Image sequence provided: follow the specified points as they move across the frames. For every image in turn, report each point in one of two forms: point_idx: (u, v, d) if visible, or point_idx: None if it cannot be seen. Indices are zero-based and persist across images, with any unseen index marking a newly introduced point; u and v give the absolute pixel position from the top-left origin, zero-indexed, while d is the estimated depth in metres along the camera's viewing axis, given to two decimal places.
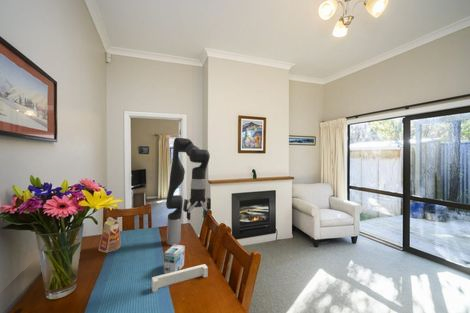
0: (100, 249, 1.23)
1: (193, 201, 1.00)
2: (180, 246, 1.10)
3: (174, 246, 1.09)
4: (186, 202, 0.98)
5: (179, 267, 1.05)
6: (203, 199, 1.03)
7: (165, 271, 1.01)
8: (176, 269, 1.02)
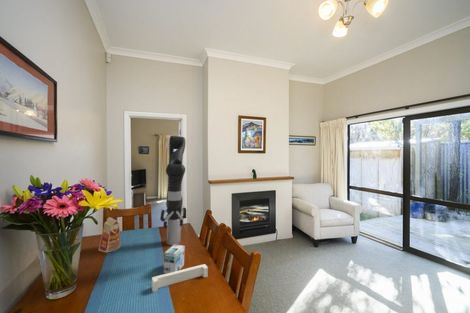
0: (100, 249, 1.23)
1: (169, 211, 1.11)
2: (180, 246, 1.10)
3: (174, 246, 1.09)
4: (163, 212, 1.09)
5: (179, 267, 1.05)
6: (179, 209, 1.14)
7: (165, 271, 1.01)
8: (176, 269, 1.02)
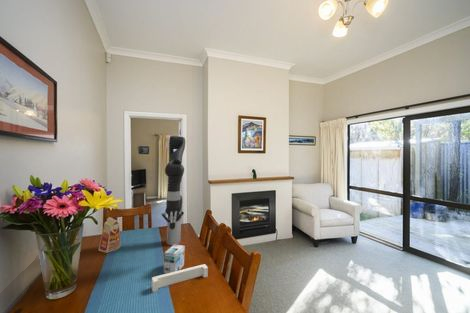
0: (100, 249, 1.23)
1: (168, 213, 1.11)
2: (180, 246, 1.10)
3: (174, 246, 1.09)
4: (163, 216, 1.10)
5: (179, 267, 1.05)
6: (178, 209, 1.14)
7: (165, 271, 1.01)
8: (176, 269, 1.02)
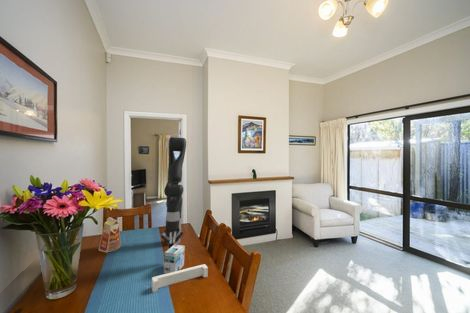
0: (100, 249, 1.23)
1: (168, 234, 1.11)
2: (180, 246, 1.10)
3: (174, 246, 1.09)
4: (163, 237, 1.09)
5: (179, 267, 1.05)
6: (178, 229, 1.14)
7: (165, 271, 1.01)
8: (176, 269, 1.02)
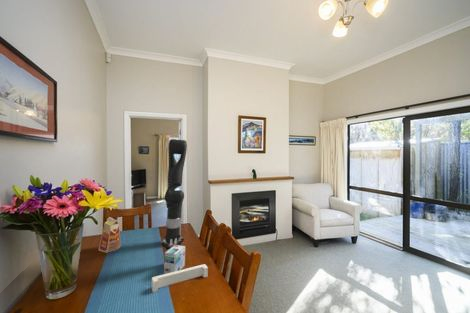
0: (100, 249, 1.23)
1: (168, 241, 1.09)
2: (181, 246, 1.09)
3: (175, 246, 1.08)
4: (163, 244, 1.08)
5: (180, 267, 1.04)
6: (178, 236, 1.12)
7: (165, 271, 1.01)
8: (176, 270, 1.01)
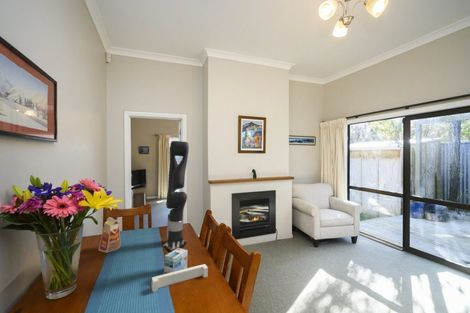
0: (100, 249, 1.23)
1: (170, 244, 1.05)
2: (183, 250, 1.04)
3: (177, 250, 1.04)
4: (165, 247, 1.04)
5: None
6: (181, 239, 1.08)
7: None
8: None
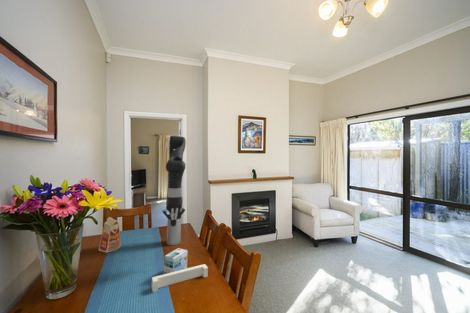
0: (100, 249, 1.23)
1: (169, 210, 1.10)
2: (183, 250, 1.04)
3: (177, 250, 1.04)
4: (164, 213, 1.08)
5: None
6: (180, 206, 1.13)
7: None
8: None
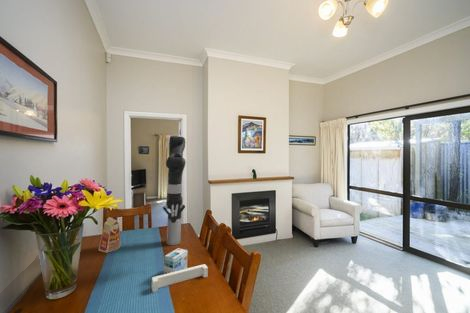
0: (100, 249, 1.23)
1: (170, 206, 1.10)
2: (183, 250, 1.04)
3: (177, 250, 1.04)
4: (165, 209, 1.08)
5: None
6: (180, 202, 1.13)
7: None
8: None
